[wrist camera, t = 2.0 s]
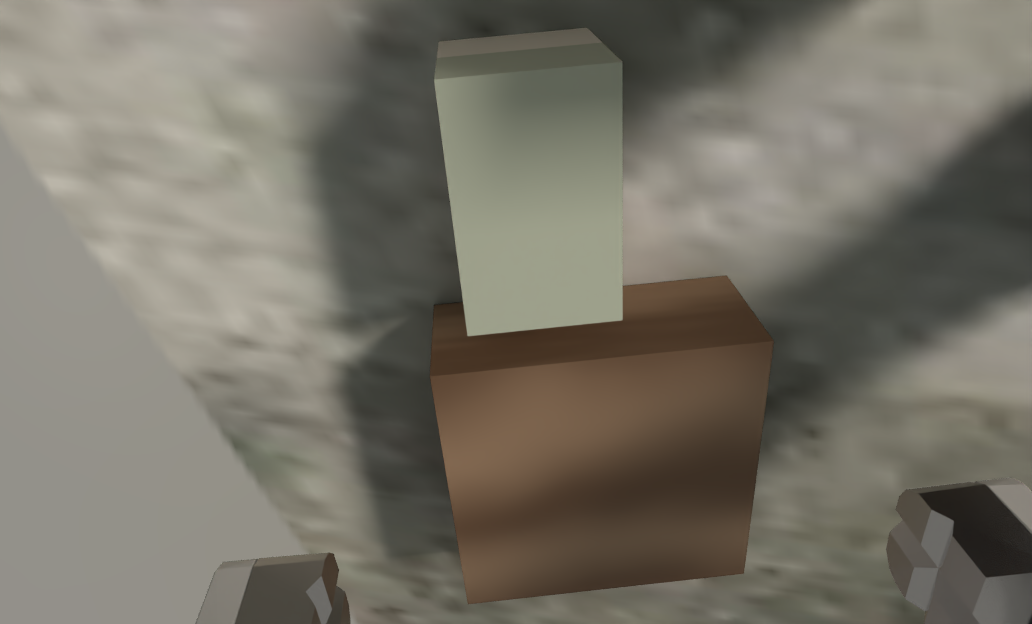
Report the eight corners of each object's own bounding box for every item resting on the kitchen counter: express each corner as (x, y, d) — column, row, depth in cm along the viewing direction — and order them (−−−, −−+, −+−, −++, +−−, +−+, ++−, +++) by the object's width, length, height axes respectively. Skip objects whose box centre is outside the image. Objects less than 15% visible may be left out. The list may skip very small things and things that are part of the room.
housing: (438, 41, 24) (434, 79, 19) (586, 27, 24) (622, 62, 19) (465, 255, 28) (467, 336, 23) (591, 242, 28) (622, 320, 23)
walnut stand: (433, 305, 29) (429, 376, 24) (726, 275, 29) (774, 341, 25) (466, 516, 35) (468, 604, 30) (708, 490, 35) (743, 573, 31)
